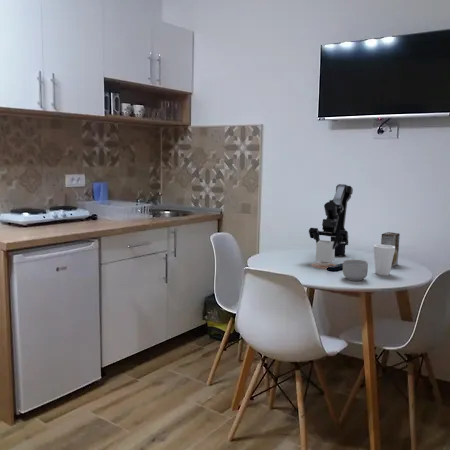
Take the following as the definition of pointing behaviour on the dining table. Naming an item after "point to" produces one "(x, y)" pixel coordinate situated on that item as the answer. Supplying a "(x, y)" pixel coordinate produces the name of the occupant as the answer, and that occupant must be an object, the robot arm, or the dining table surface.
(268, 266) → the dining table surface
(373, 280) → the dining table surface
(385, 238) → the coffee box
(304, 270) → the dining table surface
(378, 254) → the foam cup
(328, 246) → the white block
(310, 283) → the dining table surface
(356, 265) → the teacup
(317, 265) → the plate
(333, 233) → the robot arm
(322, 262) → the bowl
